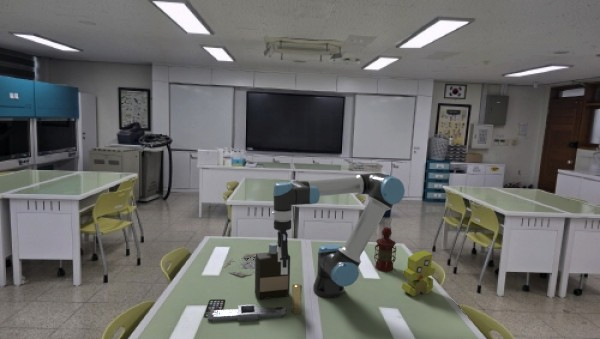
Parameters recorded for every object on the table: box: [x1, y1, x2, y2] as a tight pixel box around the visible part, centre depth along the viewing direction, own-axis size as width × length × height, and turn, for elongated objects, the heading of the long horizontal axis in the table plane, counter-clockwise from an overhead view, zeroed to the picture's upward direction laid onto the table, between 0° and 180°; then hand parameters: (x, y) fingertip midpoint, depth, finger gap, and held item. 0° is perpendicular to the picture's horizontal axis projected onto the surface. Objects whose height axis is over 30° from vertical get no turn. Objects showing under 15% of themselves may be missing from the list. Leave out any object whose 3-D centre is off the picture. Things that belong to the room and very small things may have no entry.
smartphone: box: [203, 298, 226, 319], centre depth 161 cm, size 7×1×15 cm
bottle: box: [254, 242, 291, 300], centre depth 174 cm, size 8×16×25 cm, turn 106°
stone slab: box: [223, 253, 256, 277], centre depth 212 cm, size 27×33×1 cm
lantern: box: [373, 216, 397, 273], centre depth 209 cm, size 12×12×30 cm
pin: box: [291, 283, 303, 315], centre depth 159 cm, size 4×4×12 cm
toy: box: [401, 249, 436, 297], centre depth 181 cm, size 16×6×20 cm, turn 115°
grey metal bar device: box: [207, 303, 287, 323], centre depth 155 cm, size 33×8×3 cm, turn 100°
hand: (282, 267), depth 158 cm, fingers open, 13 cm apart
